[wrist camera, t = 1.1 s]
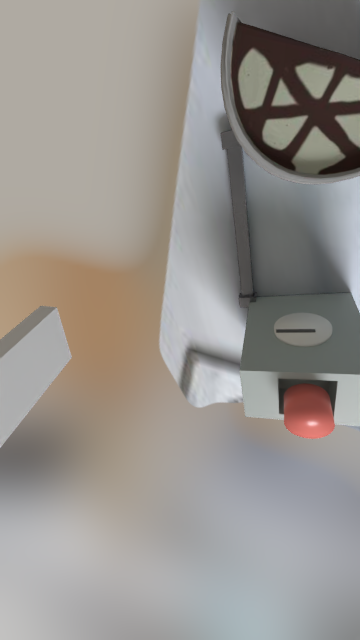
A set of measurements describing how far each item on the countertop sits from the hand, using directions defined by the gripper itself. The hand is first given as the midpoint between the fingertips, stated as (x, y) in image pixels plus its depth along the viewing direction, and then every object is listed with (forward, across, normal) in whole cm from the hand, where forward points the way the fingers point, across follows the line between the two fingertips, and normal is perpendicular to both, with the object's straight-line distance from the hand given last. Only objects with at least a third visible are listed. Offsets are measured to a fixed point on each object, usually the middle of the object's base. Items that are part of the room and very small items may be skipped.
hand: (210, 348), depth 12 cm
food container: (+20, +4, +8) cm, 22 cm away
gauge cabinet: (+20, +8, -10) cm, 24 cm away
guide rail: (+21, +1, -1) cm, 21 cm away
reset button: (+8, +7, -11) cm, 15 cm away
